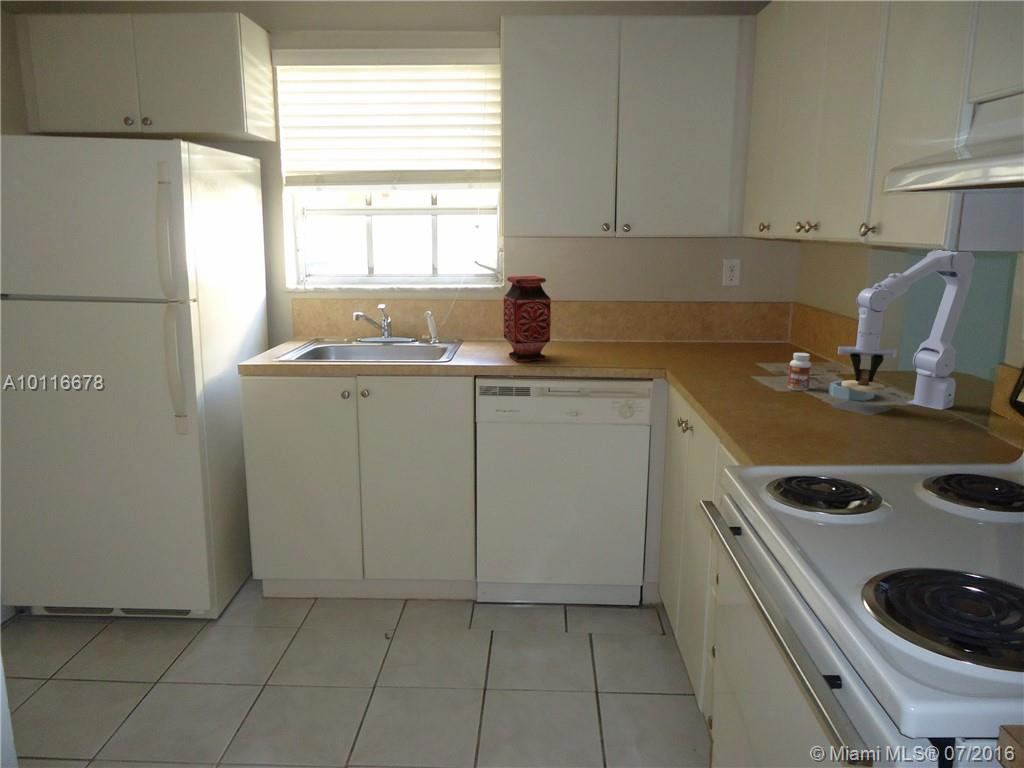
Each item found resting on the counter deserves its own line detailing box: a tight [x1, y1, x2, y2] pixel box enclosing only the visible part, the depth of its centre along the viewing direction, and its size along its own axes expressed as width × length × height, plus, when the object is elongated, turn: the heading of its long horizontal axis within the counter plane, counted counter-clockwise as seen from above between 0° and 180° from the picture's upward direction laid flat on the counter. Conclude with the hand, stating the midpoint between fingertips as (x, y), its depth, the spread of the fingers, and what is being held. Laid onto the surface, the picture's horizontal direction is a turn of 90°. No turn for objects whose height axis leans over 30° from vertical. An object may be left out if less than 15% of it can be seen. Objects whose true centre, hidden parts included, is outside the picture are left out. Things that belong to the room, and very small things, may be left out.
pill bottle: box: [787, 352, 812, 392], centre depth 229 cm, size 6×6×11 cm
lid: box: [841, 368, 886, 393], centre depth 206 cm, size 11×11×5 cm
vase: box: [503, 275, 552, 363], centre depth 272 cm, size 14×14×30 cm
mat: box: [828, 400, 893, 417], centre depth 208 cm, size 12×12×1 cm
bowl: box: [828, 380, 876, 402], centre depth 221 cm, size 11×11×4 cm
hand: (863, 381), depth 206 cm, fingers closed on lid, 3 cm apart
